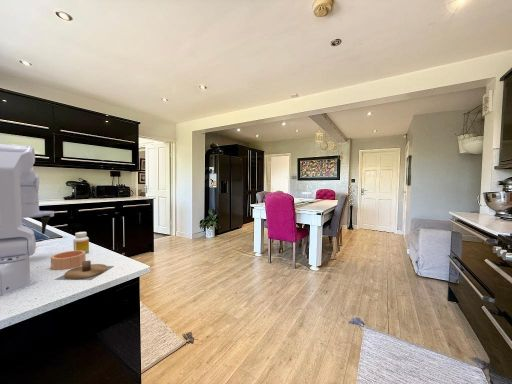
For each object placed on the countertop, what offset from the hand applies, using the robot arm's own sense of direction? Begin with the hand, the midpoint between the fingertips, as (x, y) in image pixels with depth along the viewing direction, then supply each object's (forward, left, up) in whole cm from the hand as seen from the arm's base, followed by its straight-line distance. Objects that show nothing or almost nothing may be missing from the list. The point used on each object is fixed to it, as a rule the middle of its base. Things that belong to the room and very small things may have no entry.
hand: (30, 234), depth 93 cm
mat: (-14, -33, -11) cm, 37 cm away
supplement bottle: (+7, -15, -11) cm, 20 cm away
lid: (-14, -33, -10) cm, 37 cm away
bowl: (-7, -21, -11) cm, 24 cm away
